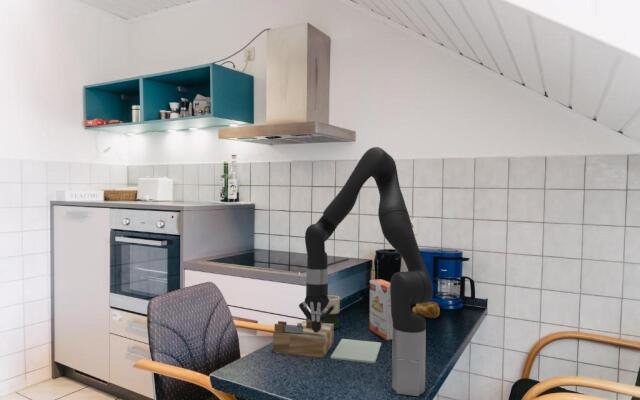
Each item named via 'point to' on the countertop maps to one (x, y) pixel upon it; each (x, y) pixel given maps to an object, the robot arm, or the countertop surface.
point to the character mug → (333, 311)
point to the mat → (357, 351)
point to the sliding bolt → (293, 328)
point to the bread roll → (427, 310)
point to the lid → (310, 333)
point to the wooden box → (300, 343)
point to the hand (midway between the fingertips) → (316, 331)
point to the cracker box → (381, 309)
